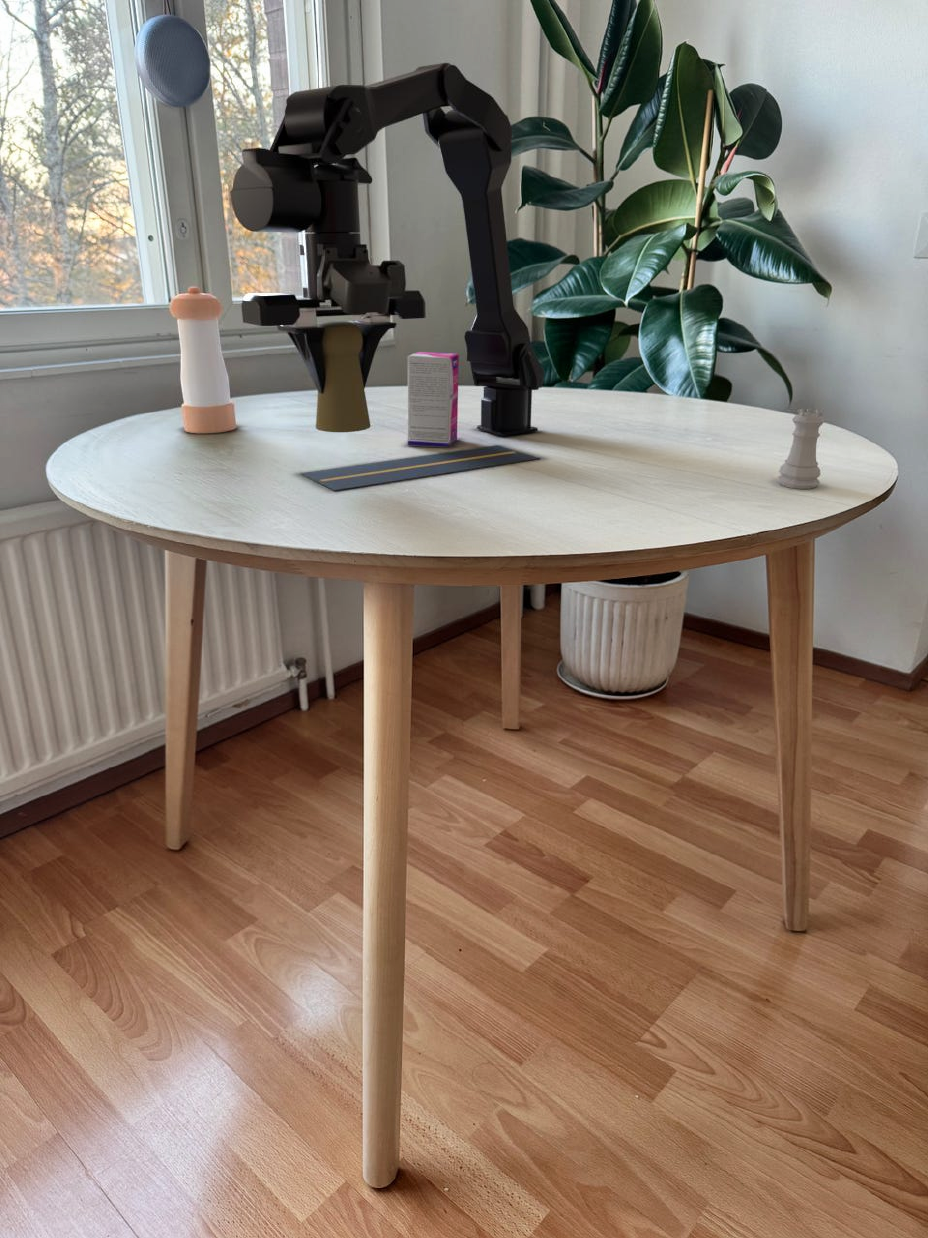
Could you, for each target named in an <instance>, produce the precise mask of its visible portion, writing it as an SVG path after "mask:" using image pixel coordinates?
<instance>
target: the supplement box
mask: <svg viewBox="0 0 928 1238" xmlns="http://www.w3.org/2000/svg"><path fill="white" fill-rule="evenodd" d="M459 362H460V354H459V353H452V352H451V353H449V352H431V351H417V352H415V353H412V354H410V355H407V444H406V445H407V446H410V447H429V448H449V447H450V446H451V445H452V444H453V443H454V441H457V440H458V420H459V419H458V415H459V414H458V412H459V369H460V367H459V366H460V365H459V364H460V363H459Z"/></svg>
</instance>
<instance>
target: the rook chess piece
mask: <svg viewBox="0 0 928 1238" xmlns="http://www.w3.org/2000/svg"><path fill="white" fill-rule="evenodd" d="M805 410H806V412H805ZM792 422H793V424H794V426H795V429H794V431H792V433H791V434H792V436H793V440H792V444H791V447H790V451H789V454H788V456H787V458H786V459H785V460H784V463H783V464H782V465H780V468H779V470H778V472H779V474H780V475H779V476H777V477H776V478H777V481H778V483H779V485H781V486H782V487H786V488H791V489H798V490H811V489H815V488H816V487H817V486H818V485H819V484H820V480H819V479H818V478H819V477H820V476H821V469H820V467H819V466H818V465H819V462H817V445H818V444H817V443H818V438H819V437H820V436H821V434H820V433H819V429H820V428H821V426H822V425H823V424H824V423H825V422H826V421H825V419H824V417H823V411H822V410H820V409H815V410H814V412H813V408H807V409H805V408H799V409H797V411H796V414H795V415H794V416H793V417H792Z"/></svg>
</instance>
